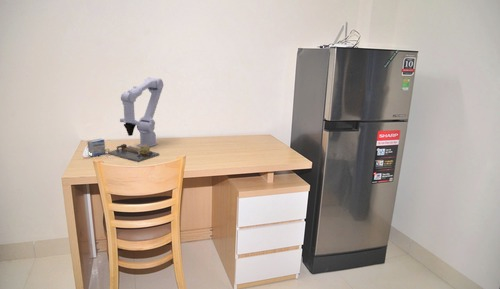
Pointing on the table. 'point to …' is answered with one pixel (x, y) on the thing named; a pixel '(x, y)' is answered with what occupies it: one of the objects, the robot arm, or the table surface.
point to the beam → (124, 147)
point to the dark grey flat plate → (131, 154)
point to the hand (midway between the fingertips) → (130, 135)
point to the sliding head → (144, 149)
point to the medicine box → (96, 147)
